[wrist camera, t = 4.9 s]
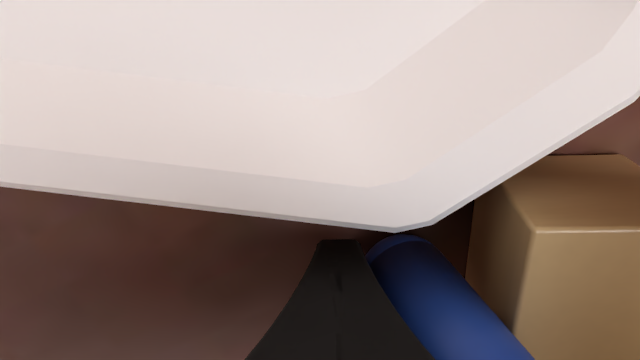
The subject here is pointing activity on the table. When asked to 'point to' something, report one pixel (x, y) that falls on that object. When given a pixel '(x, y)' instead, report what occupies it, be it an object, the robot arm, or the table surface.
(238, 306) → the table surface
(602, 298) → the maple block
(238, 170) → the plate
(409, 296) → the blue marker
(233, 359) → the table surface
